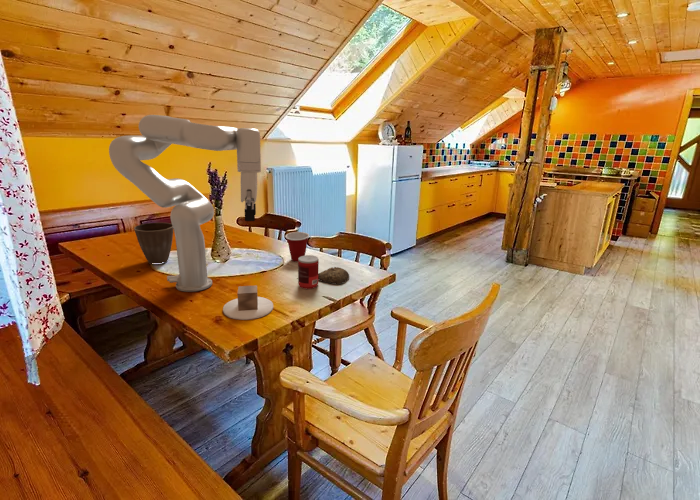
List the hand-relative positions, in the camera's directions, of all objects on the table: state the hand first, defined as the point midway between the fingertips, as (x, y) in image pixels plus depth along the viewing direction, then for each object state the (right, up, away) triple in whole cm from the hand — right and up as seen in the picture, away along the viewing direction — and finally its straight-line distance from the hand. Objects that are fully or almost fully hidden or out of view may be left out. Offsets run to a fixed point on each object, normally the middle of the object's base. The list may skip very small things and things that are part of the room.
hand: (250, 217), depth 131 cm
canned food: (+18, -25, +16) cm, 35 cm away
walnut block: (+1, -30, -6) cm, 30 cm away
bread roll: (+28, -23, +24) cm, 43 cm away
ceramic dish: (+1, -30, -5) cm, 31 cm away
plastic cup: (+10, -16, +44) cm, 48 cm away
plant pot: (-49, -17, +35) cm, 63 cm away
